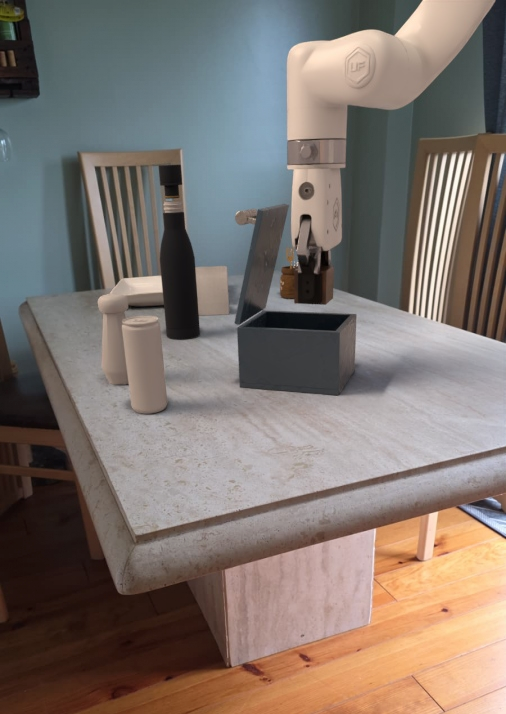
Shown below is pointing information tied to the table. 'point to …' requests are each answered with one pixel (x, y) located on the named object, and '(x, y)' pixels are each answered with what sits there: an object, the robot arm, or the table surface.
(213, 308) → the beige rectangular box
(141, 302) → the square plate
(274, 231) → the bin lid
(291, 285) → the utensil holder
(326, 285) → the block
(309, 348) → the bin
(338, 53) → the robot arm
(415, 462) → the table surface
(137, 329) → the beverage can
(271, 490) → the table surface
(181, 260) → the black water bottle
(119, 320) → the salt shaker
